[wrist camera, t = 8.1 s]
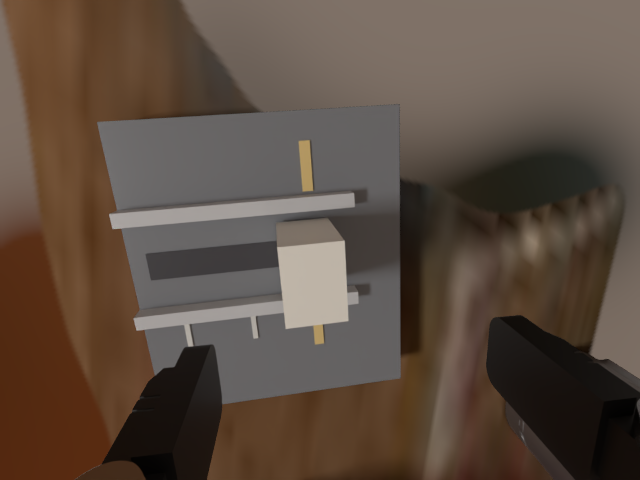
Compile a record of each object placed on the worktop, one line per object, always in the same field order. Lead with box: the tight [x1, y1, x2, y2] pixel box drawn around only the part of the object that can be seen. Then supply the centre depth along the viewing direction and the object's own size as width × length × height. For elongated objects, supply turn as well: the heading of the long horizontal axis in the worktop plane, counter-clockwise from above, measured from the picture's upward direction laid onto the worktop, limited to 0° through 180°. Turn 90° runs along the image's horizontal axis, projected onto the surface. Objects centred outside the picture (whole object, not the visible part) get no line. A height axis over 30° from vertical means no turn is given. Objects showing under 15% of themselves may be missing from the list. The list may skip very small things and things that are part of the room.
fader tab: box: [276, 218, 349, 329], centre depth 18 cm, size 3×4×5 cm
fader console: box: [97, 104, 401, 404], centre depth 22 cm, size 16×18×3 cm
